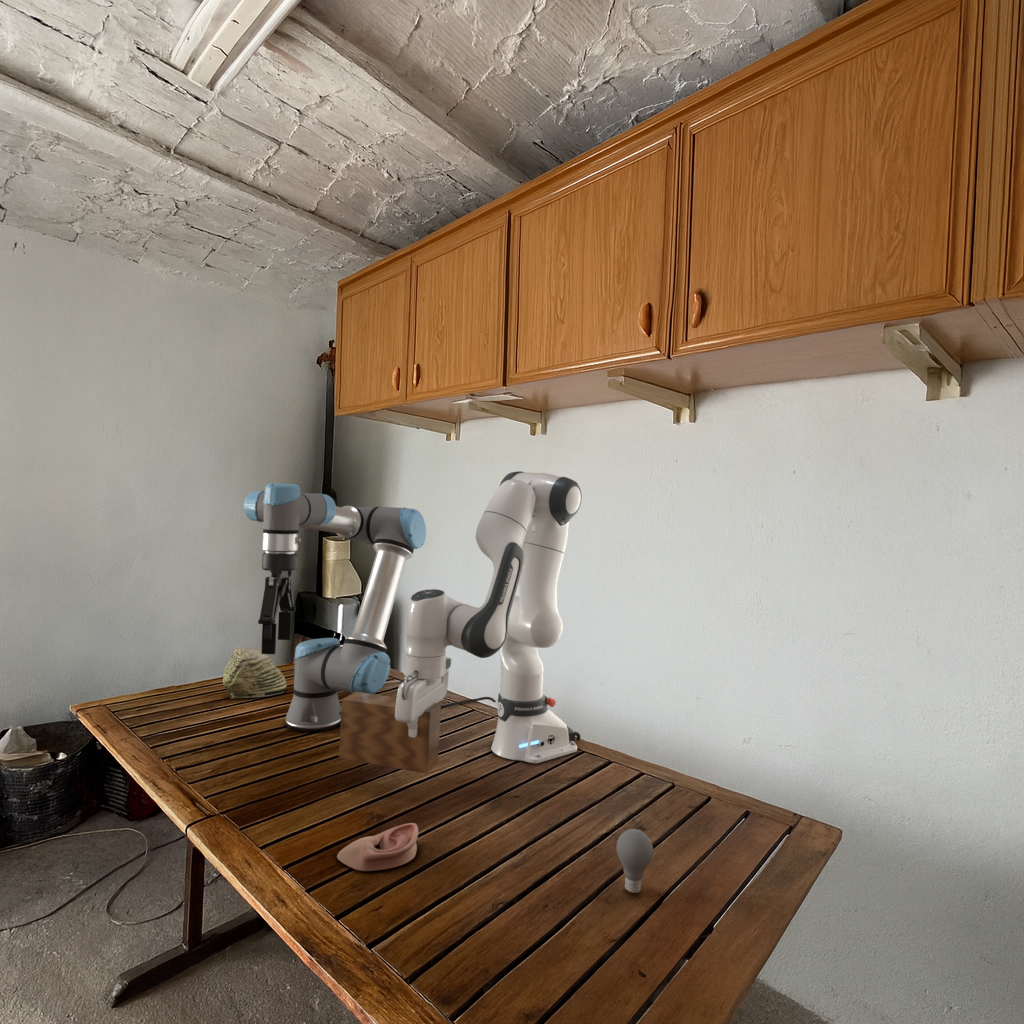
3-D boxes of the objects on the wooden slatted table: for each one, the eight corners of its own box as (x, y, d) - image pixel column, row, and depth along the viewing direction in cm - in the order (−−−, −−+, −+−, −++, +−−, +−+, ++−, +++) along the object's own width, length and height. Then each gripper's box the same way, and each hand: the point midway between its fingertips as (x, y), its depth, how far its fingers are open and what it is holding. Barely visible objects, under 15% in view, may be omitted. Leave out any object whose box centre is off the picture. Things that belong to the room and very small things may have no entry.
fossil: (218, 695, 195) (220, 647, 195) (278, 685, 208) (279, 640, 207) (228, 703, 189) (230, 653, 188) (289, 692, 201) (290, 645, 201)
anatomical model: (329, 843, 109) (358, 811, 120) (328, 865, 109) (357, 832, 120) (402, 855, 106) (425, 821, 117) (401, 878, 106) (424, 842, 117)
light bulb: (610, 879, 108) (613, 822, 108) (644, 879, 109) (647, 822, 109) (619, 902, 102) (622, 840, 102) (655, 901, 103) (658, 840, 103)
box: (338, 758, 138) (341, 699, 137) (353, 748, 144) (355, 691, 143) (427, 773, 132) (430, 712, 132) (438, 762, 138) (441, 703, 138)
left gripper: (283, 558, 130) (279, 660, 130) (308, 548, 155) (305, 634, 155) (245, 556, 129) (241, 660, 130) (277, 547, 154) (274, 634, 154)
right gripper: (418, 680, 125) (414, 749, 125) (454, 657, 145) (451, 717, 145) (389, 676, 127) (385, 745, 127) (428, 654, 146) (425, 713, 146)
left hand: (276, 646), depth 142 cm, fingers open, 13 cm apart
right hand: (420, 730), depth 136 cm, fingers closed on box, 6 cm apart
